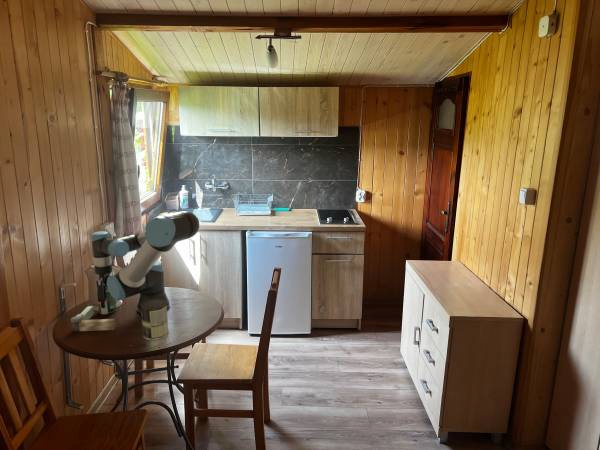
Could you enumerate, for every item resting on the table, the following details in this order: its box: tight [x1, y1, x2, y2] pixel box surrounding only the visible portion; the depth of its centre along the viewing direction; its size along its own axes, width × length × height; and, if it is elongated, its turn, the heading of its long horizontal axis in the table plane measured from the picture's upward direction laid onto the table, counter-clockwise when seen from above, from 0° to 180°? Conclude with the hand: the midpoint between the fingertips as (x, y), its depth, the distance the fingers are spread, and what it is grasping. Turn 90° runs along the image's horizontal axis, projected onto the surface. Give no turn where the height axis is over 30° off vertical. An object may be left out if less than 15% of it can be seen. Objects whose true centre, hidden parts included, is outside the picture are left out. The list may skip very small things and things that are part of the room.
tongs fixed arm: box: [71, 318, 116, 332], centre depth 188 cm, size 17×3×4 cm, turn 94°
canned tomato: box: [96, 287, 118, 314], centre depth 206 cm, size 8×8×11 cm
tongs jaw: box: [70, 305, 95, 324], centre depth 193 cm, size 18×4×5 cm, turn 4°
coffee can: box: [140, 299, 169, 341], centre depth 182 cm, size 10×10×14 cm
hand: (108, 309), depth 207 cm, fingers closed on canned tomato, 8 cm apart
